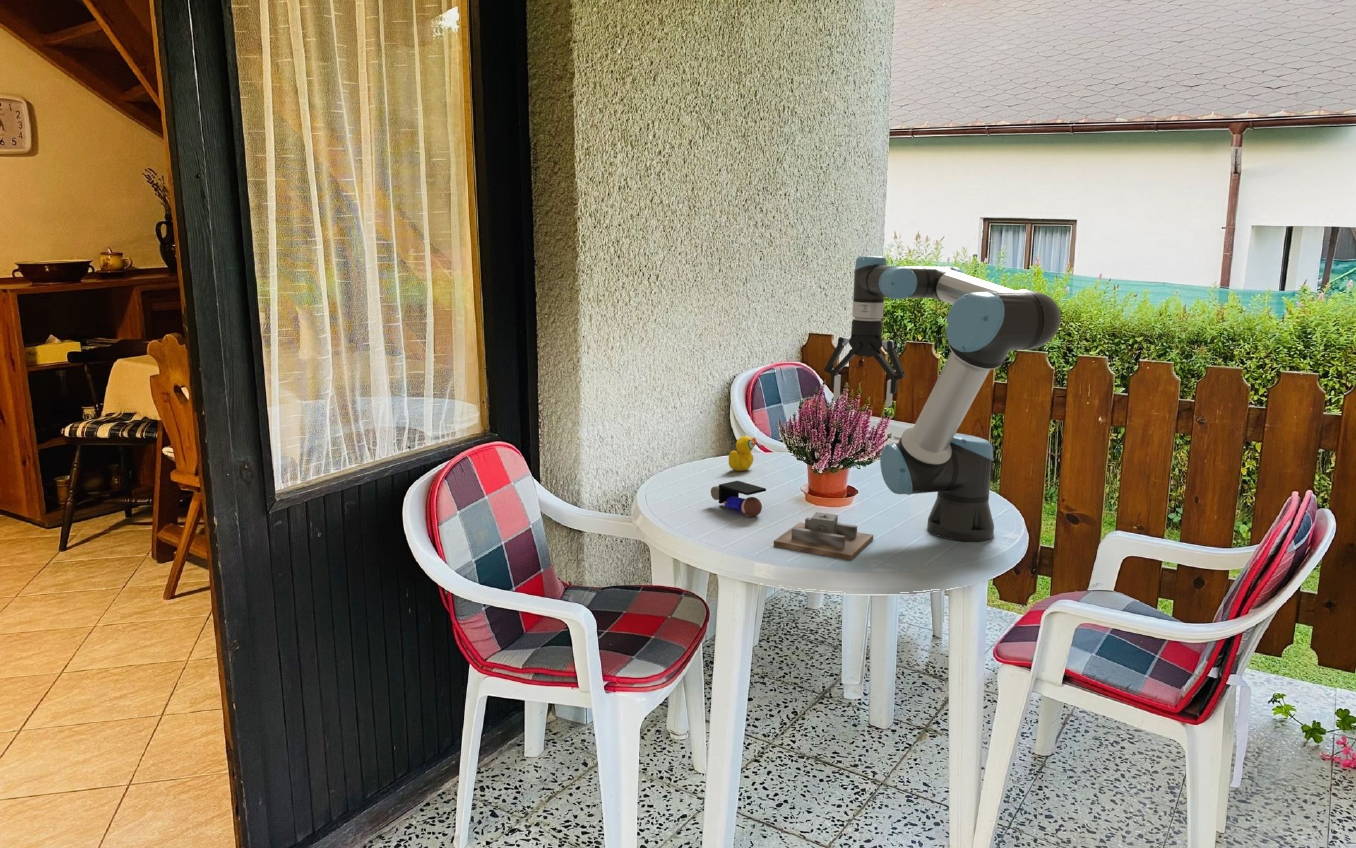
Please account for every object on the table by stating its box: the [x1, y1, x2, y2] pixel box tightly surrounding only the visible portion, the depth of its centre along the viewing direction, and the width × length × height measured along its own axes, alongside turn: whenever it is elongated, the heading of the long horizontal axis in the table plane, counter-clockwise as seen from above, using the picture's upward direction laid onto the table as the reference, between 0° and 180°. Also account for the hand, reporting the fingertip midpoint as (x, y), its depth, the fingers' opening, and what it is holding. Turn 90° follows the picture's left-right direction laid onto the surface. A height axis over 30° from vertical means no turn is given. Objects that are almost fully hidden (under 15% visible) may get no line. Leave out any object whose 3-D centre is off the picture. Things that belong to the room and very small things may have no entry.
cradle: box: [773, 517, 874, 561], centre depth 212 cm, size 18×16×4 cm
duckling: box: [728, 435, 757, 472], centre depth 274 cm, size 11×5×10 cm, turn 139°
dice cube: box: [810, 512, 839, 534], centre depth 212 cm, size 5×5×5 cm
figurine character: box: [710, 480, 767, 518], centre depth 234 cm, size 7×8×15 cm
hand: (862, 403), depth 237 cm, fingers open, 13 cm apart
